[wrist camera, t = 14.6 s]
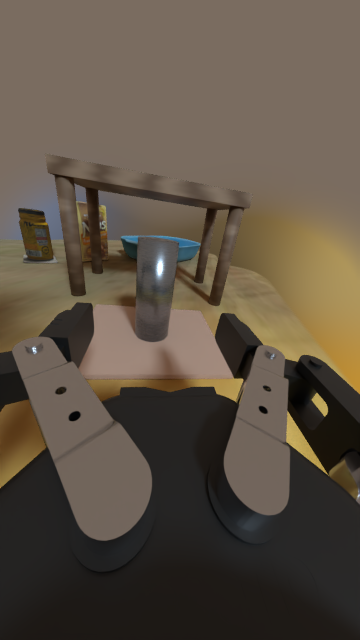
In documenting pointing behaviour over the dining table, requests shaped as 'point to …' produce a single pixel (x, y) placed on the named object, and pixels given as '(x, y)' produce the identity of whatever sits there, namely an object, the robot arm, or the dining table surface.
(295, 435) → the dining table surface
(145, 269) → the metal canister
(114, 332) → the rubber mat
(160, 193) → the low stand
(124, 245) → the casserole dish
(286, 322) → the dining table surface
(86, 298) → the dining table surface
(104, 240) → the candy box
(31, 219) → the condiment
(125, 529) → the robot arm
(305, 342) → the dining table surface
